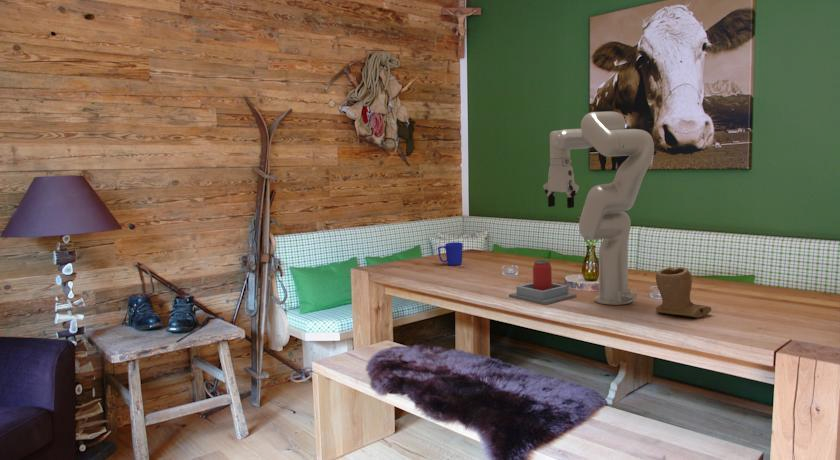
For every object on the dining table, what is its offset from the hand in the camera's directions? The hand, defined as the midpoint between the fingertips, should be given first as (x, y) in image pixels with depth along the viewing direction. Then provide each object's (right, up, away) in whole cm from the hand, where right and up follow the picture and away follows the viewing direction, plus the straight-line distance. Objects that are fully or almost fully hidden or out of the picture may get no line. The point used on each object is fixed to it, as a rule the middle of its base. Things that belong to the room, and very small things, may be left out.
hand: (561, 207), depth 256 cm
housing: (-10, -33, -17) cm, 39 cm away
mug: (-40, -26, +55) cm, 73 cm away
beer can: (-10, -32, -17) cm, 38 cm away
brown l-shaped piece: (+27, -36, -49) cm, 66 cm away
